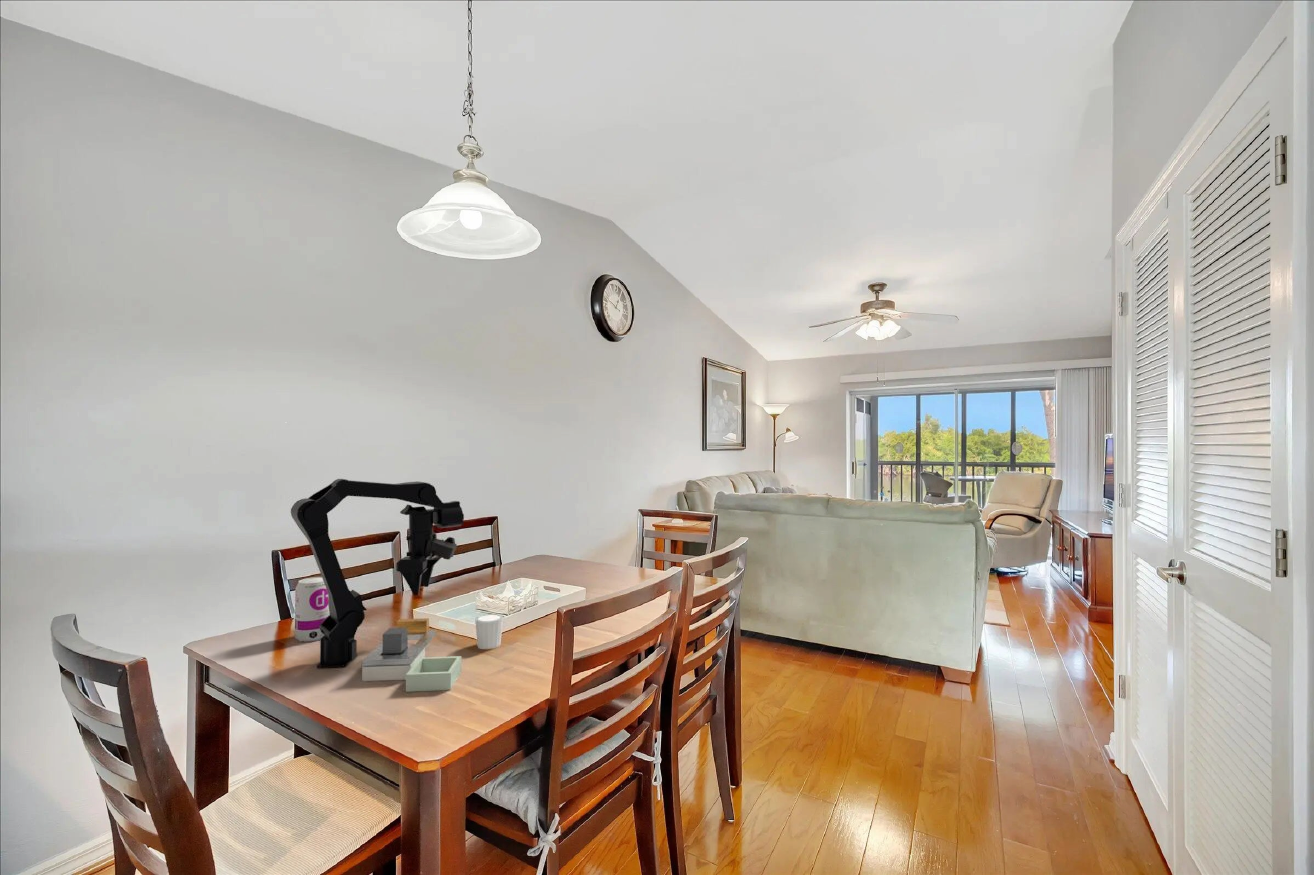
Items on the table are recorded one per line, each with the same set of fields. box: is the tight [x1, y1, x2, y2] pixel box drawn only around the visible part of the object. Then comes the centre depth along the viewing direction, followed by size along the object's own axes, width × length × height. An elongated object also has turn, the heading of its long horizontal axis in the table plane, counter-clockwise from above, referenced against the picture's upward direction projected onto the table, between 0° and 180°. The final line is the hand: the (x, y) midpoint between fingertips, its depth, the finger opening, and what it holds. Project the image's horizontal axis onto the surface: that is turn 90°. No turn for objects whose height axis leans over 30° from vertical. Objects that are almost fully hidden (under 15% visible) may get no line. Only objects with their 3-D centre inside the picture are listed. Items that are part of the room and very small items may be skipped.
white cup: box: [475, 613, 504, 650], centre depth 140 cm, size 7×7×7 cm
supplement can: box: [294, 576, 330, 643], centre depth 145 cm, size 8×8×15 cm
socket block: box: [361, 647, 426, 682], centre depth 124 cm, size 10×10×3 cm
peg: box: [382, 627, 409, 655], centre depth 124 cm, size 5×5×9 cm
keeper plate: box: [361, 617, 436, 667], centre depth 128 cm, size 18×10×4 cm, turn 6°
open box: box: [405, 655, 462, 693], centre depth 119 cm, size 9×9×4 cm
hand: (421, 590), depth 142 cm, fingers open, 8 cm apart
